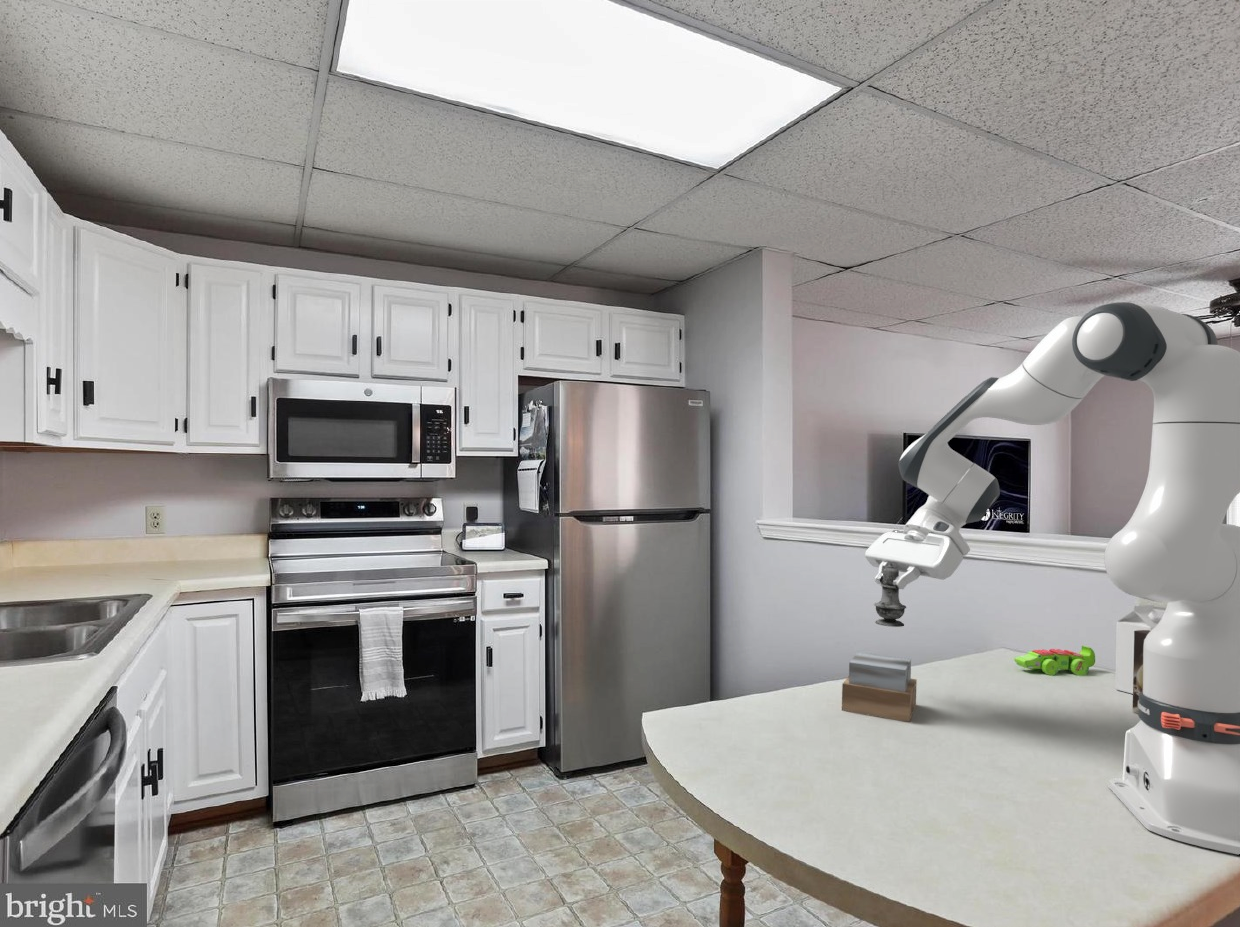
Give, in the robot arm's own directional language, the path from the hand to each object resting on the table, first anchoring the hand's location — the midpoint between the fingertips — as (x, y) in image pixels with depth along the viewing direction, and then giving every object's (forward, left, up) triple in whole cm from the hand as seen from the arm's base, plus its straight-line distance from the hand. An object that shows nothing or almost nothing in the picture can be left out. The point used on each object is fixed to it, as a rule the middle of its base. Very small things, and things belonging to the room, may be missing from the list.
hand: (887, 584), depth 139 cm
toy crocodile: (+54, -32, -24) cm, 67 cm away
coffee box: (+25, -48, -24) cm, 59 cm away
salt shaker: (+1, 0, -8) cm, 8 cm away
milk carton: (+44, -47, -24) cm, 69 cm away
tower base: (0, +1, -24) cm, 24 cm away
